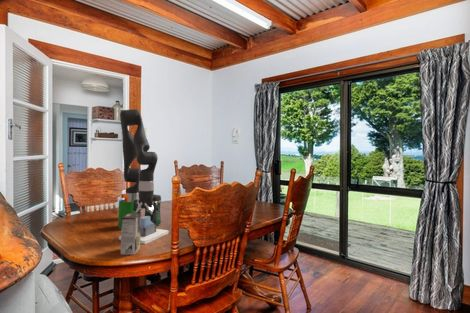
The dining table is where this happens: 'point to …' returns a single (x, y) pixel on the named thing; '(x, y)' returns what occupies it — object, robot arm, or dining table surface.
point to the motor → (124, 208)
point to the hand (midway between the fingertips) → (145, 220)
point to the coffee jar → (157, 215)
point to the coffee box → (130, 233)
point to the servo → (146, 222)
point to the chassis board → (150, 234)
